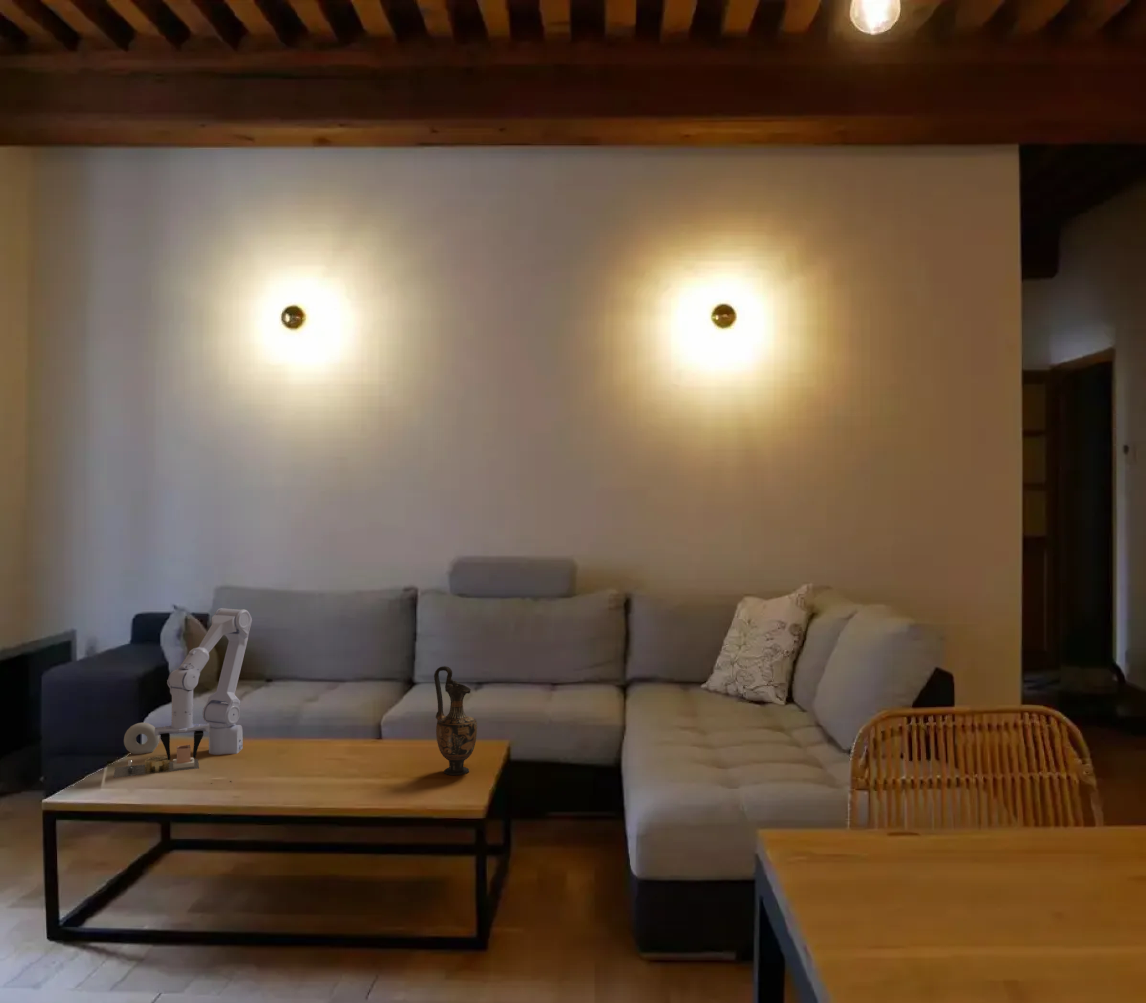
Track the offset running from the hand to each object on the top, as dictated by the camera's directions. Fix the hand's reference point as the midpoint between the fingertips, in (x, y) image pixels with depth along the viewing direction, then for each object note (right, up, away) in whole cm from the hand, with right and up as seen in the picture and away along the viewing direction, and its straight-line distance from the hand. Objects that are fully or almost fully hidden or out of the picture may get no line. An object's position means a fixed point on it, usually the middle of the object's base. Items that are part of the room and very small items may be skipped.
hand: (181, 758), depth 273 cm
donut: (-18, -3, +13) cm, 22 cm away
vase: (+79, -4, -2) cm, 79 cm away
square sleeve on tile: (0, -2, 0) cm, 2 cm away
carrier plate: (-6, -3, -3) cm, 7 cm away
